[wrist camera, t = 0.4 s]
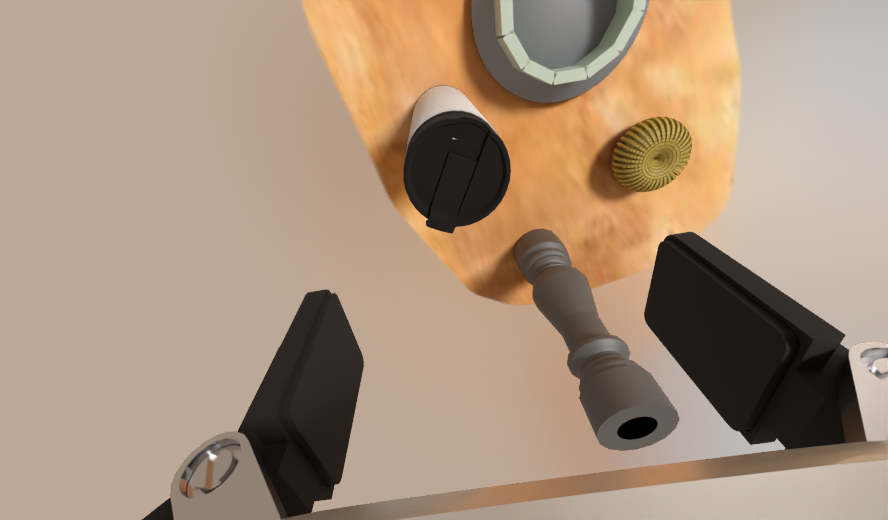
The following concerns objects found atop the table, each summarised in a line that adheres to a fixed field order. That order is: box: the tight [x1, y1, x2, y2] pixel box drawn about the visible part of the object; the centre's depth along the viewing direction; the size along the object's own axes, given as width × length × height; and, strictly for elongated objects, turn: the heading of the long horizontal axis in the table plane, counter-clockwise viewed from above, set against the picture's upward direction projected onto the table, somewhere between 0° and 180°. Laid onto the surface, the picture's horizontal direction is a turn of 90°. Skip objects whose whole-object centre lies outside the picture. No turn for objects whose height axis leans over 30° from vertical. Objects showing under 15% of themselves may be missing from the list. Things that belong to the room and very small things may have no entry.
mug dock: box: [471, 0, 649, 103], centre depth 29 cm, size 16×16×4 cm
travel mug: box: [404, 85, 511, 233], centre depth 27 cm, size 6×7×20 cm
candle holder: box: [514, 229, 679, 451], centre depth 34 cm, size 6×6×25 cm
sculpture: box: [612, 117, 692, 192], centre depth 37 cm, size 8×4×8 cm
